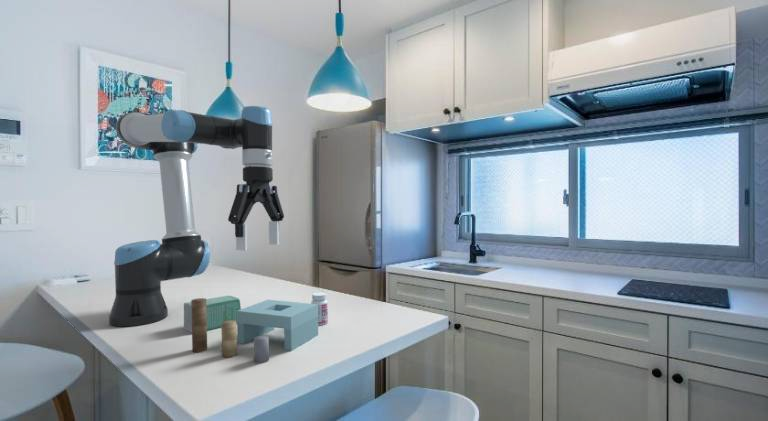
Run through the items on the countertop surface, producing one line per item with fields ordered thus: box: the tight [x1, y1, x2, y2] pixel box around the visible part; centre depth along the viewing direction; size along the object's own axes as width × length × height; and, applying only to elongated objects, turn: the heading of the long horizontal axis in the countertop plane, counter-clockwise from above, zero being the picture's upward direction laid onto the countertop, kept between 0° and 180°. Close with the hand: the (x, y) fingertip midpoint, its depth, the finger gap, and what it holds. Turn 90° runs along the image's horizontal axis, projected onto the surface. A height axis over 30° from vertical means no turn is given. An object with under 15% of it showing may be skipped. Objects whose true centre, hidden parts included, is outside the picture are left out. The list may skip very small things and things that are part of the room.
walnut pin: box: [190, 297, 208, 354], centre depth 94 cm, size 3×3×12 cm
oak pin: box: [220, 321, 238, 359], centre depth 91 cm, size 3×3×8 cm
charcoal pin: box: [253, 335, 270, 364], centre depth 88 cm, size 3×3×5 cm
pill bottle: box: [310, 292, 329, 326], centre depth 114 cm, size 5×5×8 cm
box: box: [183, 295, 242, 334], centre depth 113 cm, size 7×14×8 cm, turn 137°
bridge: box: [236, 299, 319, 352], centre depth 102 cm, size 16×12×8 cm
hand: (258, 247), depth 105 cm, fingers open, 13 cm apart
